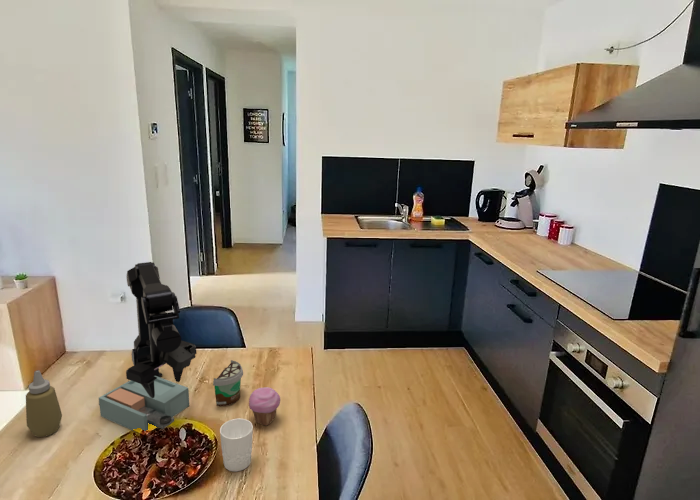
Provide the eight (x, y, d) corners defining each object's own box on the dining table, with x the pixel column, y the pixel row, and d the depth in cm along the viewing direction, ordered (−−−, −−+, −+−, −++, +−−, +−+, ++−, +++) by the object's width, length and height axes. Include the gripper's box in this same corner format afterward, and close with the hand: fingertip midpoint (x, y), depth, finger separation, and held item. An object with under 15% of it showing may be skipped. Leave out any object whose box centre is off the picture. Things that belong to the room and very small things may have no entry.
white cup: (224, 451, 118) (223, 418, 115) (255, 451, 119) (254, 418, 116) (218, 474, 110) (216, 439, 108) (251, 473, 111) (250, 438, 108)
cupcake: (270, 433, 126) (269, 402, 123) (243, 425, 128) (242, 394, 126) (285, 415, 134) (285, 385, 131) (259, 408, 136) (259, 379, 134)
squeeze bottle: (70, 425, 126) (62, 367, 121) (43, 443, 118) (33, 382, 114) (49, 418, 128) (40, 361, 123) (21, 436, 121) (10, 375, 116)
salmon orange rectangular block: (107, 403, 130) (106, 395, 129) (120, 395, 134) (120, 388, 133) (131, 413, 126) (131, 405, 125) (145, 405, 130) (144, 397, 129)
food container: (233, 412, 134) (232, 382, 132) (214, 409, 135) (212, 379, 133) (250, 389, 146) (249, 361, 143) (232, 386, 147) (231, 359, 144)
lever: (115, 409, 129) (115, 404, 129) (127, 402, 133) (127, 397, 132) (164, 430, 122) (163, 424, 121) (175, 422, 125) (175, 416, 125)
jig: (100, 416, 130) (98, 397, 128) (146, 389, 144) (145, 372, 142) (145, 436, 123) (143, 416, 121) (189, 405, 136) (188, 387, 135)
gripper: (155, 358, 106) (160, 416, 110) (210, 329, 123) (212, 380, 127) (121, 348, 111) (127, 404, 115) (179, 320, 127) (182, 370, 131)
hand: (165, 389), depth 122 cm, fingers open, 8 cm apart
